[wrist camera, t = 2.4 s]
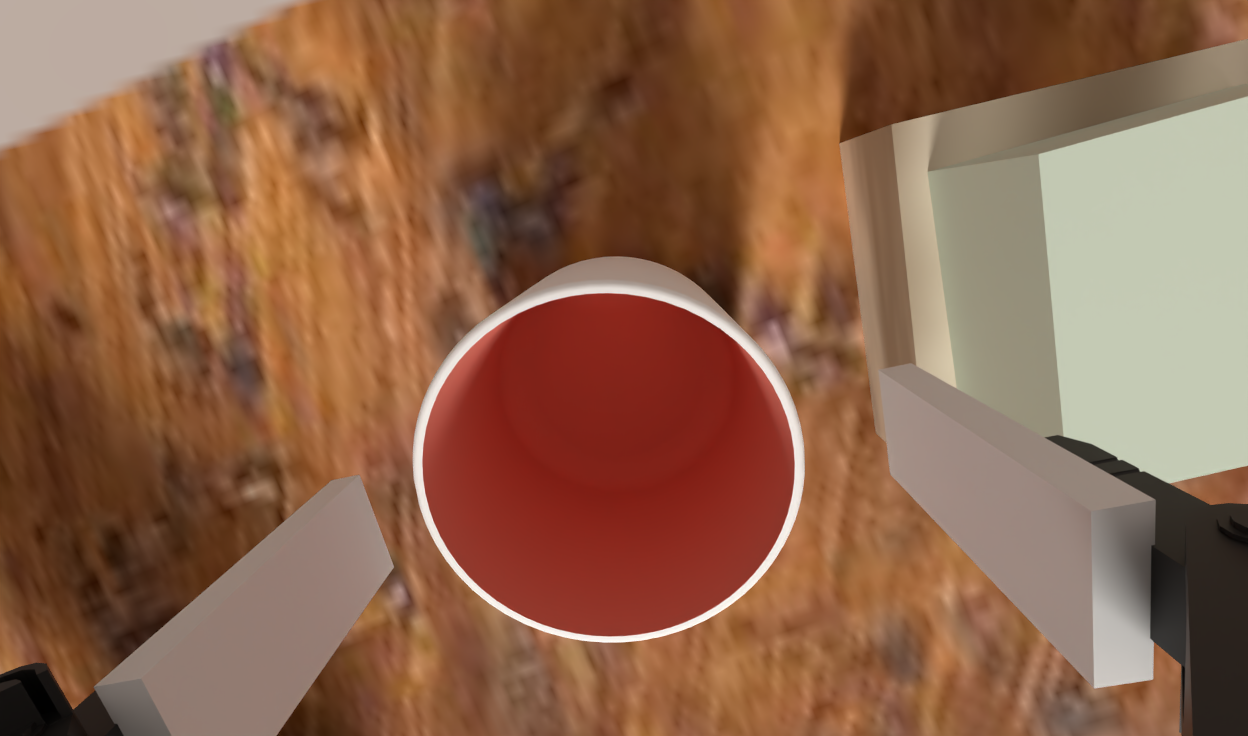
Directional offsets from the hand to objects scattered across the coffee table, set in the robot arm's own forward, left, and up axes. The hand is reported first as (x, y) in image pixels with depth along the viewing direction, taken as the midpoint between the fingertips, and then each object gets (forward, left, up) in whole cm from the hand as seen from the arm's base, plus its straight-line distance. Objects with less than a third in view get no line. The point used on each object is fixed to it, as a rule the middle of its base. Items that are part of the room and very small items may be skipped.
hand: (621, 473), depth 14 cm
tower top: (+15, +1, -6) cm, 17 cm away
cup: (0, 0, -10) cm, 10 cm away
